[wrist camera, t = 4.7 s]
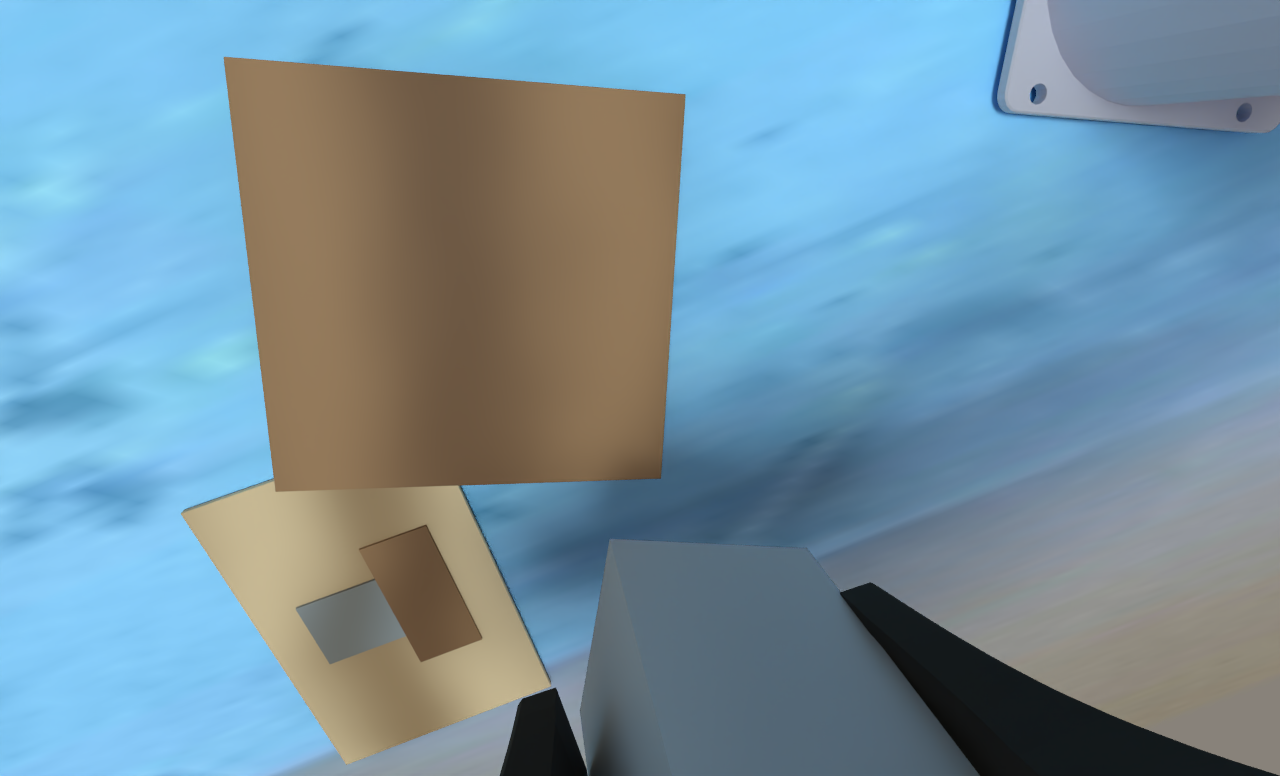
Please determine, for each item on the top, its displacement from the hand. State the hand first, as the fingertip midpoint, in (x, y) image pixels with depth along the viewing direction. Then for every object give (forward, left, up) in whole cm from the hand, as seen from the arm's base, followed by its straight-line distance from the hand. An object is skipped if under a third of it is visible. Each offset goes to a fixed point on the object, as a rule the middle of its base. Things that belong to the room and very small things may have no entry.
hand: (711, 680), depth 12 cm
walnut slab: (+4, -6, -9) cm, 11 cm away
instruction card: (+7, +4, -9) cm, 12 cm away
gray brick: (0, 0, -2) cm, 2 cm away
